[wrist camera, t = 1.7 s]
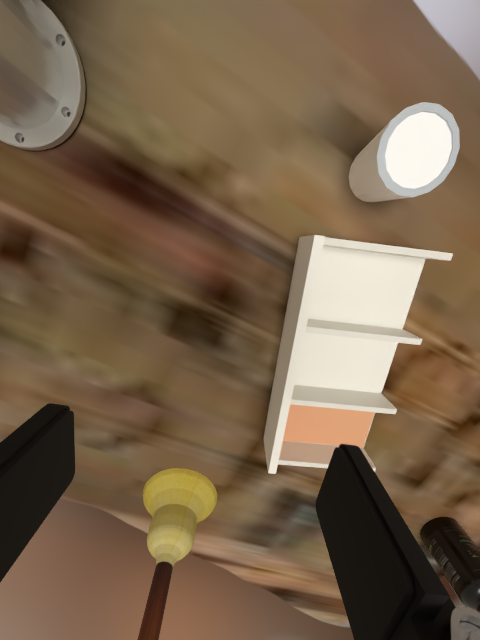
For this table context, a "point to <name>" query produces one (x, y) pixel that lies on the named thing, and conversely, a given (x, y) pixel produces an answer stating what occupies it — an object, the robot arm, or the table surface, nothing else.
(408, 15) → the table surface
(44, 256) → the table surface
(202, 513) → the handbell
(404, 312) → the rack
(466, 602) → the supplement bottle
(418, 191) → the white and grey cylinder
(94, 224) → the table surface
